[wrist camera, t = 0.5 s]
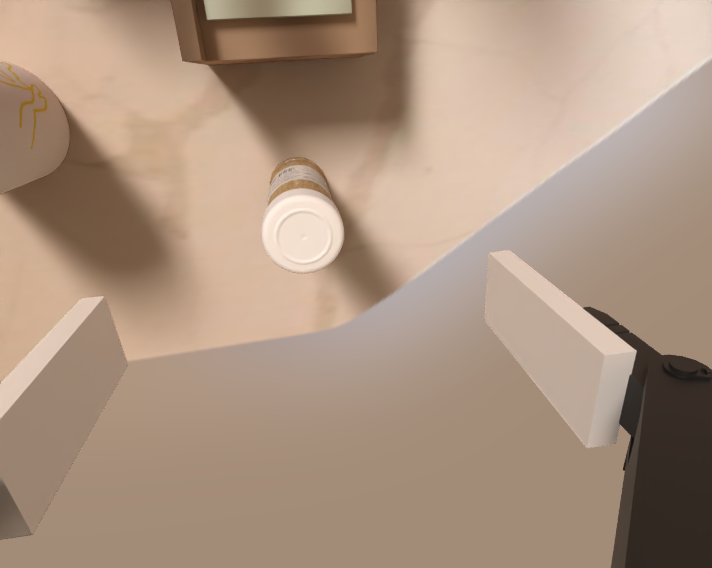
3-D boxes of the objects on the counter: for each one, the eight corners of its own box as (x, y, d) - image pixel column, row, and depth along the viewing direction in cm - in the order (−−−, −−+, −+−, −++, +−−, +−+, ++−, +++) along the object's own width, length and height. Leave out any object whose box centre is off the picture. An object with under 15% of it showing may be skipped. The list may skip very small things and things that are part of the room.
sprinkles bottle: (285, 220, 38) (283, 288, 26) (259, 169, 36) (245, 217, 24) (335, 198, 38) (357, 256, 26) (312, 146, 36) (325, 181, 24)
